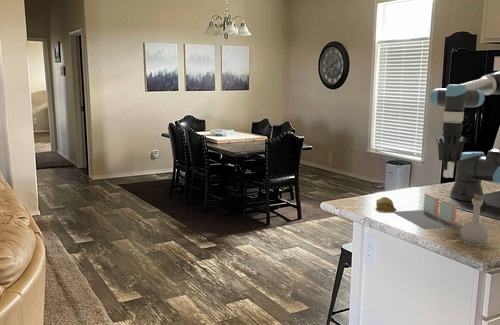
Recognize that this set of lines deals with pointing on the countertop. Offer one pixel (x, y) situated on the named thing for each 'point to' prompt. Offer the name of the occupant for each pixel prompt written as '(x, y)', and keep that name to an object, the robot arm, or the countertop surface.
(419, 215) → the mat
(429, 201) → the tile
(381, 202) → the seashell
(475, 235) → the potion bottle
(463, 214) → the countertop surface
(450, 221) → the tile
